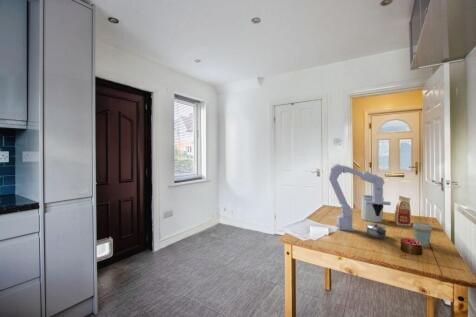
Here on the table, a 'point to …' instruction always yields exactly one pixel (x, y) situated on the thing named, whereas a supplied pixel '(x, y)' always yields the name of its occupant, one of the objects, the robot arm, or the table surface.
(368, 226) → the lid
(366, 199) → the utensil holder
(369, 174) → the robot arm
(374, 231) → the pot
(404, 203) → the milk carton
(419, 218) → the table surface
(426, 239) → the coffee cup
